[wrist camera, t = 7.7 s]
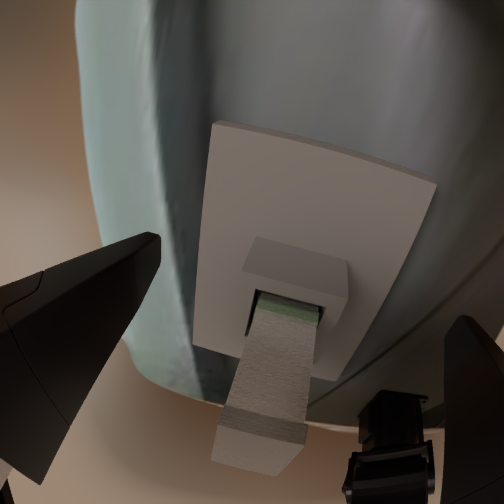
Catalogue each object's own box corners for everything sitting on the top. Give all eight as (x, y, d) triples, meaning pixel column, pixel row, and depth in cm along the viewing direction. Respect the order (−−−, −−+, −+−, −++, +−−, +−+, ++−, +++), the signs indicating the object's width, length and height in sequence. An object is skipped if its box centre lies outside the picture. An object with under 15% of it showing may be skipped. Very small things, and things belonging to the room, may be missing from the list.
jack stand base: (430, 176, 18) (459, 213, 13) (336, 369, 29) (333, 417, 25) (220, 119, 19) (185, 138, 15) (197, 332, 30) (177, 376, 26)
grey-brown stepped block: (323, 297, 18) (306, 445, 11) (300, 350, 21) (277, 476, 14) (263, 282, 19) (216, 424, 11) (249, 337, 22) (209, 460, 14)
